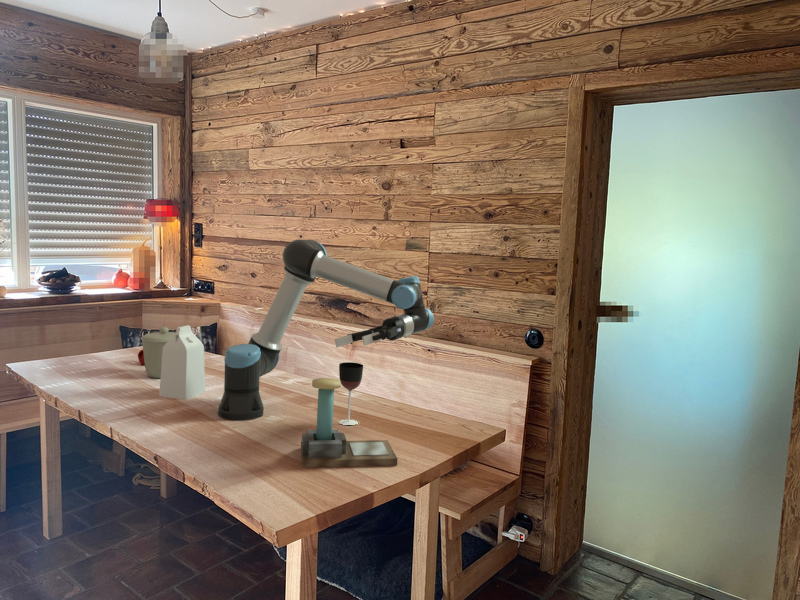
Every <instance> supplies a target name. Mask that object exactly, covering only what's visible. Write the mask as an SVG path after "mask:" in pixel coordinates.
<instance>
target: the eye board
mask: <svg viewBox="0 0 800 600" xmlns="http://www.w3.org/2000/svg"><path fill="white" fill-rule="evenodd" d="M316 432H317V429H307V430H306V433H301V434H302V435H301V441H300V453H301V454H300V455H301V461H302V462H301V463H302V468H304V469H310V468H313V469H315V468H344V467H346V468H350V467H353V468H354V467H356V468H357V467H383V466H384V467H385V466H387V467H388V466H390V467H391V466H393V467H394V466H398V460H399V459H398V457H397V454H396V453H395V451H394V449H393V448H392V446H391V444H390V442H389V440H388V439H379V440H378V439H376V440H347V438H346V435H345V433H344V432H339V430H338V429H332V440H316Z"/></svg>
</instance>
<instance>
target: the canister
mask: <svg viewBox="0 0 800 600" xmlns="http://www.w3.org/2000/svg"><path fill="white" fill-rule="evenodd" d="M175 335H176V332H172V331H170V329H169V328H168V327H167V326H161V327H160V328H159V332H158V331H157V332H149V333H147V334H145V335H143V336H141V337H140V340H141V342H142V350H143V353H144V362H145V365H144V368H145V372H146V375H147V376H148V377H150V378H153V379H161V366H162V354H163V347H164V345H165V344H166V343H167V342H168V341H169V340H171V339H172V338H173V337H174V336H175Z"/></svg>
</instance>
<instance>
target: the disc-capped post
mask: <svg viewBox="0 0 800 600" xmlns="http://www.w3.org/2000/svg"><path fill="white" fill-rule="evenodd" d="M311 386H312V387H313V388H315V389H318V390H317V412H316V413H317V414H316V416H317V417H316V430H317V432H316V440H332V430H333V422H334V419H333V418H334V397H335V390H336V389H340V388H341V386H342V384H341V381H340V379H335V378H331V377H323V378H322V377H319V378H315V379H312V382H311Z"/></svg>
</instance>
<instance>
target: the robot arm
mask: <svg viewBox="0 0 800 600" xmlns="http://www.w3.org/2000/svg"><path fill="white" fill-rule="evenodd" d="M282 262H283V264H284V266H283V270H284V274H285V275H284V278H283V279H282V282H281V284H280V285H279V287H278V290H277V292H276V294H275V296H274V298H273V300H272V302H271V304H270V307H269V309H268V311H267V314H266V315H265V317H264V319H263V322H262V324H261V326H260V328H259V330H258V332H256V333H252V334H251V336H250V339H249V341H248V343H239V344H234V345H232V346H230V347H228V348H227V349H226V351H225V355H224V377H223V378H224V379H223V381H224V383H223V384H224V385H223V386H224V387H223V389H224V390H223V394H222V397H221V400H220V402H219V406H218V408H217V411H218V412H217V414H218V417H221V418H222V419H225V420H231V421H246V420H253V419H257V418H260V417H262V416H263V415H264V410H265V409H264V408H265V407H264V403H263V401H262V397H261V394H260V377H262V376H264V375H266V374H269V373H271V372H272V371H273V370H274V369H275V368H276V366H277V365H278V364H279V360H280V352H281V351H282V344H281V341H282V339H283V337H284V335H285V333H286V331H287V328H288V326H289V324H290V322H291V320H292V317H293V316H294V315H295V312H296V309H297V308H298V306H299V303H300V302H301V299H302V297H303V296H304V293H305V291H306V289H307V287H308V286H309V285H310V284H311V285H312V284H313V283H315V280H316V278H319V279H322V280H325V281H329V282H331V283H335V284H337V285H339V286H342V287H346V288H348V289H351V290H354V291H356V292H359V293H362V294H364V295H368V296H370V297H373V298H376V299H378V300H379V299H380V300H381V301H385V302H386V303H389V304H391V305H393V306H395V307H396V308H398V309H401V310H402V309H403V313H401V314H398V315H395V316H393V317H392V316H391V317H388V318H385V319H384V320H383V322H382V325H378V326H376V327H372V328H369V329H366V330H362V331H357V332H352V333H348V334H346V335H344V336H339V337H337V338H334V343H335V347H336V348H340V347H343V346H347V345H349V344H350V345H353V343H354V342H359V341H362V342H363V346H367V345H370V344H374V343H377V342H381V341H383V340H386V339H387V340H389V341H391V342H392V341H396V340H399V339H401V338H404V339H407V338H408V336H411V335H414V334H417V333H420V332H421V333H422V332H424V331H426V330H429V329H430V328H432V327H433V325H434V322H435V316H434V313H433V312H432V311H431V309H429V308H427V307H425V302H424V296H423V291H422V288H421V287H422V285H421V282H420V278H419V277H418V276H417V275H412V276H407V277H402V278H399V279H398V280H395V279H392V278H390V277H387V276H384V275H381V274H377V273H376V272H373V271H370V270H367V269H365V268H361V267H359V266H356V265H352V264H351V263H347V262H345V261H342V260H339V259H336V258H333V257H331V256H328V253H327V250H326V248H325V247H324V245H323V244H321V243H320V242H319V241H317V240H314V239H310V238H309V239H295V240H292V241H290V242H289V243H288V244H287V245H285V247H284V250H283V252H282Z"/></svg>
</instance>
